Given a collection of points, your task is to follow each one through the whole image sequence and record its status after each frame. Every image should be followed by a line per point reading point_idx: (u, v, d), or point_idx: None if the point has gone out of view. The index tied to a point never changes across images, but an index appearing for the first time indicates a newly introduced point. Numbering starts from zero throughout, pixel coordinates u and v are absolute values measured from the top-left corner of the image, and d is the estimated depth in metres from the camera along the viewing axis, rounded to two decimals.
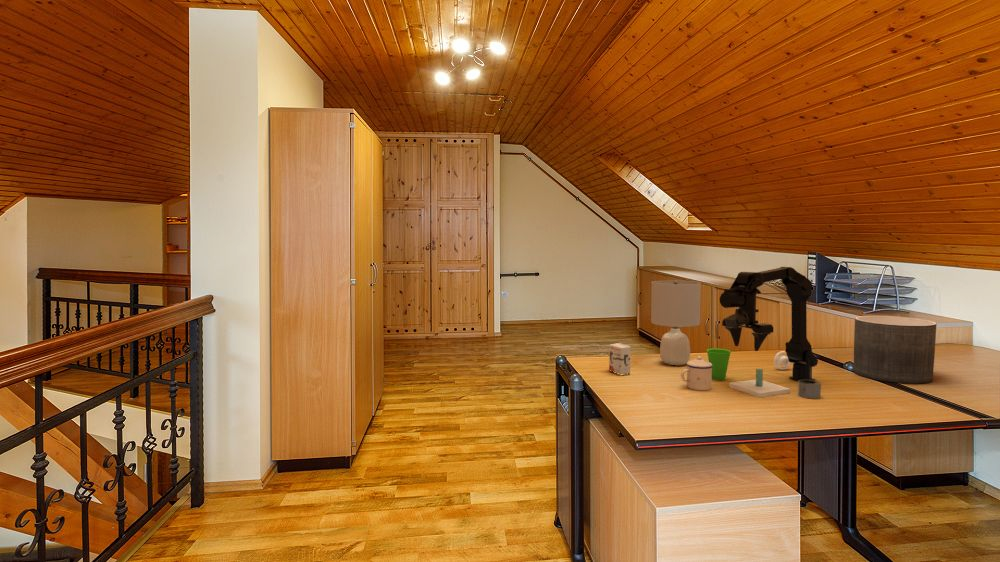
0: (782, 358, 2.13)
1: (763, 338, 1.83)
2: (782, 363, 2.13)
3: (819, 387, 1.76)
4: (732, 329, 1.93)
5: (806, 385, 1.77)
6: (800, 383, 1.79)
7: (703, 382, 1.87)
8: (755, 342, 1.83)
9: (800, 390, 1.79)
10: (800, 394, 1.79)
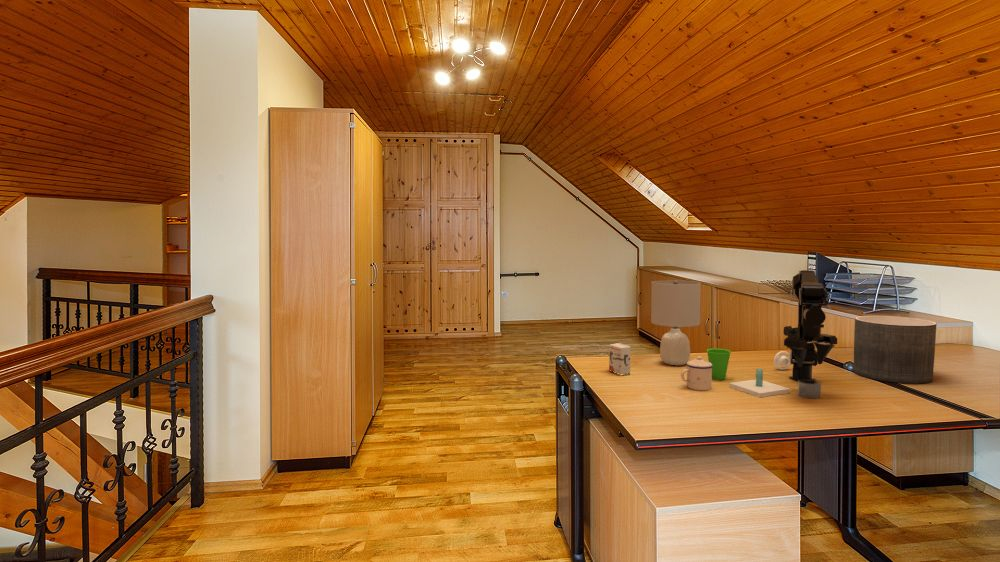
0: (782, 358, 2.13)
1: (800, 354, 1.75)
2: (782, 363, 2.13)
3: (819, 387, 1.76)
4: (816, 345, 1.81)
5: (806, 385, 1.77)
6: (800, 383, 1.79)
7: (703, 382, 1.87)
8: None
9: (800, 390, 1.79)
10: (800, 394, 1.79)
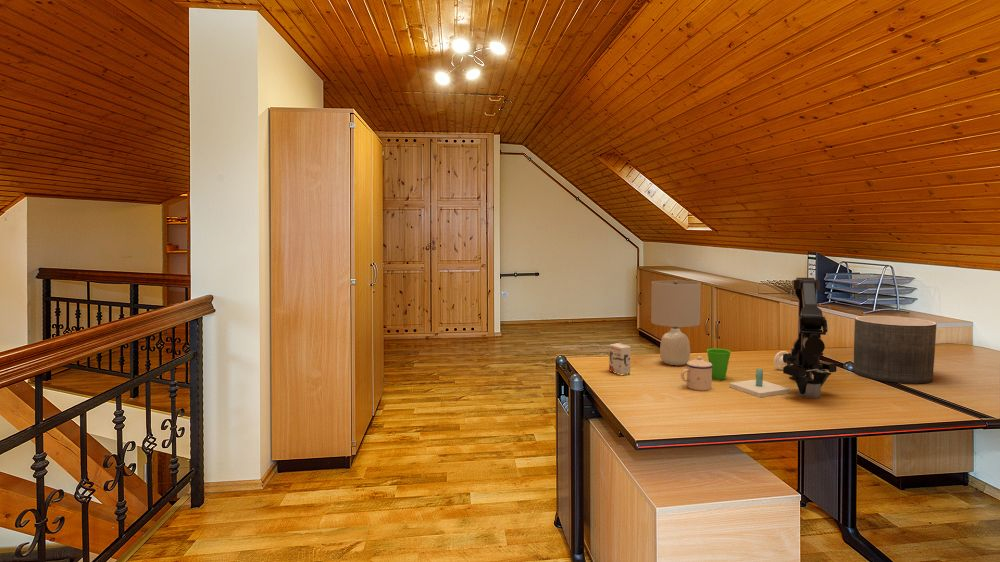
0: (782, 358, 2.13)
1: (802, 382, 1.76)
2: (782, 363, 2.13)
3: (819, 387, 1.76)
4: (813, 372, 1.82)
5: None
6: None
7: (703, 382, 1.87)
8: None
9: None
10: (800, 394, 1.79)
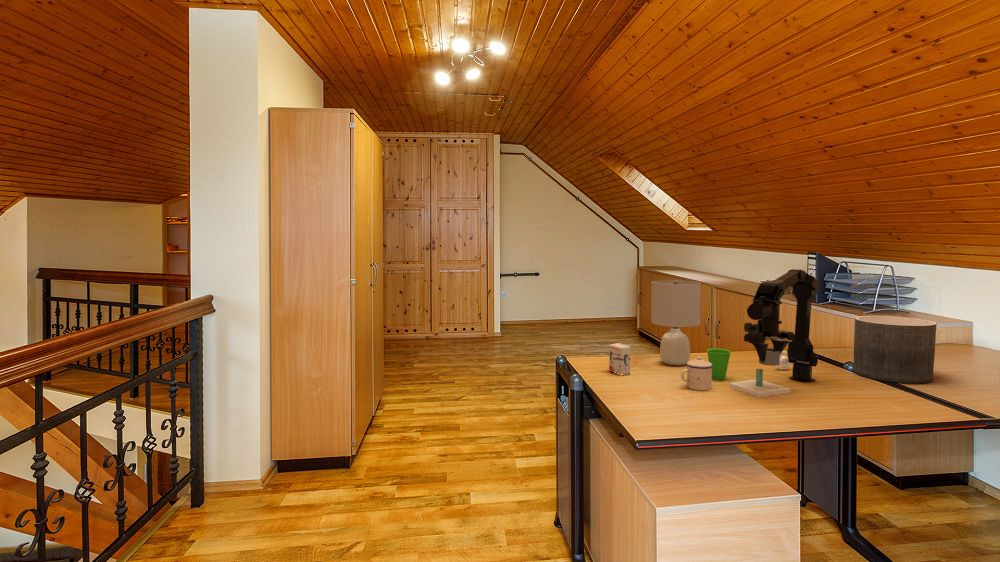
0: (782, 358, 2.13)
1: (762, 349, 1.81)
2: (782, 363, 2.13)
3: (778, 354, 1.82)
4: (773, 341, 1.87)
5: None
6: None
7: (703, 382, 1.87)
8: None
9: None
10: (760, 362, 1.84)
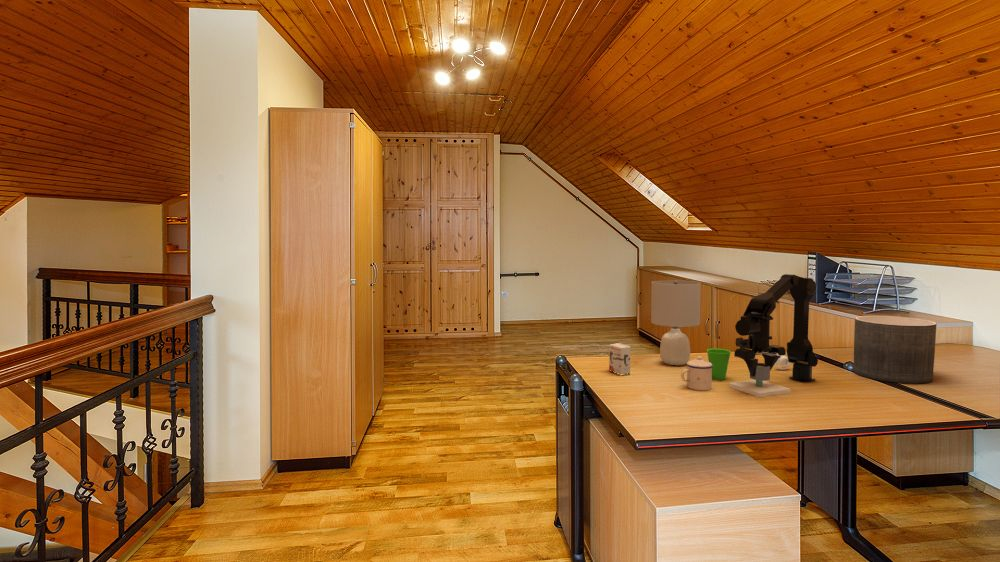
0: (782, 358, 2.13)
1: (752, 364, 1.83)
2: (782, 363, 2.13)
3: (768, 369, 1.84)
4: (764, 356, 1.89)
5: (756, 368, 1.84)
6: None
7: (703, 382, 1.87)
8: None
9: None
10: (751, 376, 1.86)
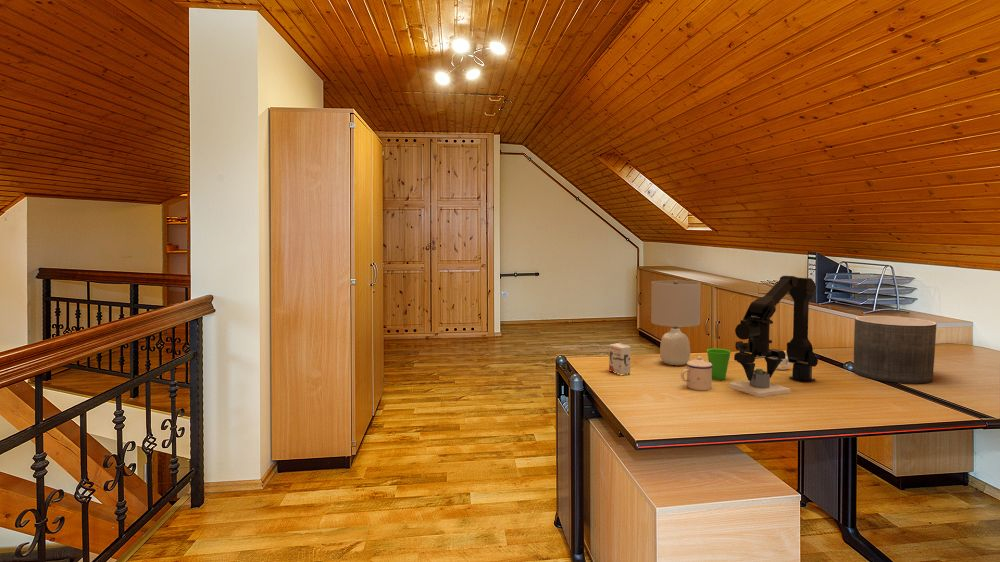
0: None
1: (749, 368, 1.83)
2: (782, 363, 2.13)
3: (768, 377, 1.84)
4: (766, 359, 1.90)
5: (755, 375, 1.84)
6: None
7: (703, 382, 1.87)
8: None
9: (751, 380, 1.86)
10: (751, 384, 1.87)
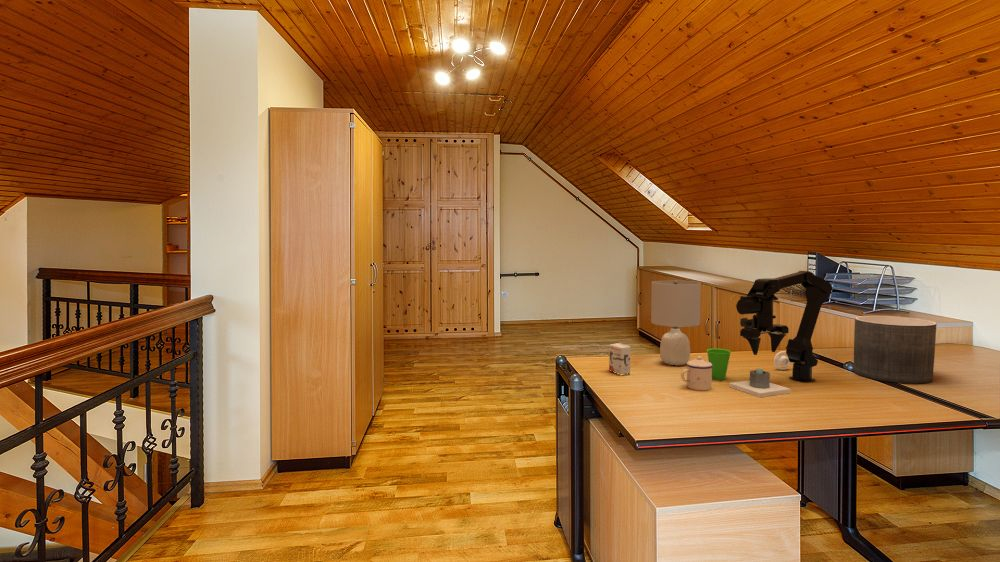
0: (782, 358, 2.13)
1: (755, 343, 1.90)
2: (782, 363, 2.13)
3: (768, 377, 1.84)
4: (770, 334, 1.97)
5: (755, 375, 1.84)
6: (751, 373, 1.86)
7: (703, 382, 1.87)
8: None
9: (751, 380, 1.86)
10: (751, 384, 1.87)
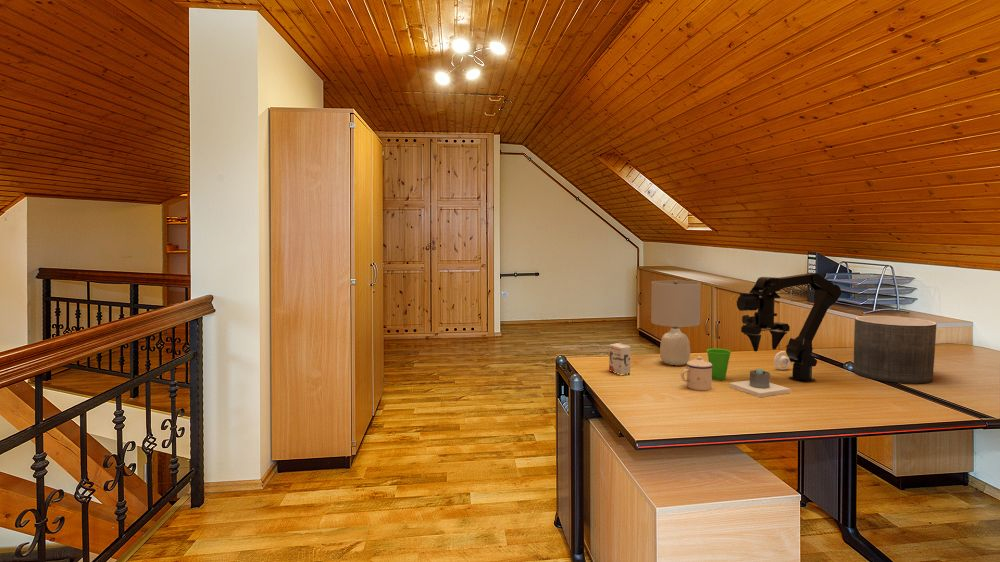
0: (782, 358, 2.13)
1: (755, 340, 1.94)
2: (782, 363, 2.13)
3: (768, 377, 1.84)
4: (771, 332, 2.00)
5: (755, 375, 1.84)
6: (751, 373, 1.86)
7: (703, 382, 1.87)
8: None
9: (751, 380, 1.86)
10: (751, 384, 1.87)
